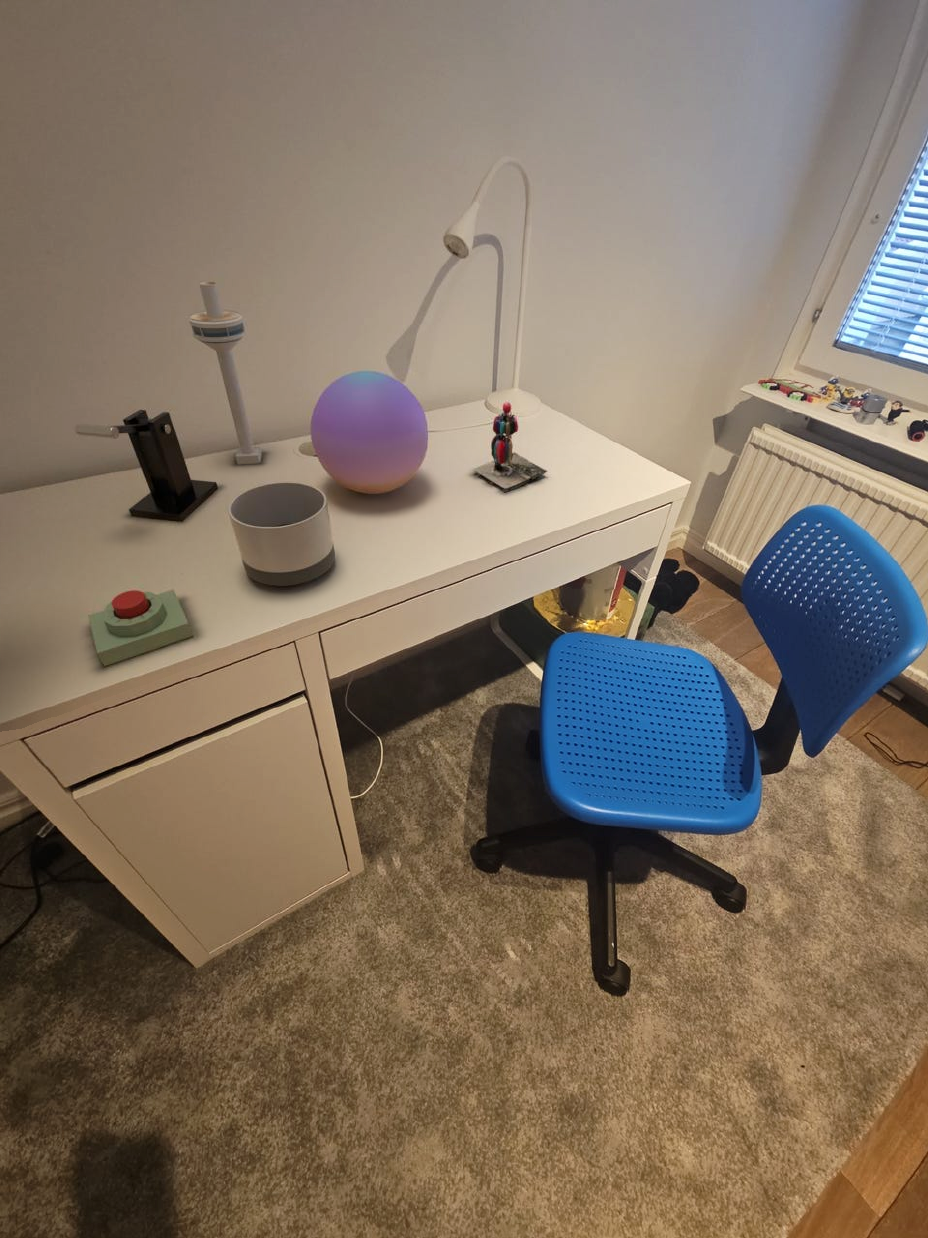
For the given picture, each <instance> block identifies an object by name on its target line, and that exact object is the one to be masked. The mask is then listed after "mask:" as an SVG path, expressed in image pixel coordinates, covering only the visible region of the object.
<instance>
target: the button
mask: <svg viewBox="0 0 928 1238" xmlns="http://www.w3.org/2000/svg"><path fill="white" fill-rule="evenodd" d="M143 592H144V591H142V590H136V589H135V590H133V589H132V590H127V591H124V592H123V591H122V592H121V593H118V595H116V596H115V597H114V598H113V599H112V600H111V602H112V606H113V608H114V610H115V612H116V614H117V616H118V617H119V618H121V619H132V618H135V617H138V616H141V615H143V614H144V613H146V612H147V611H148V610H149V608H150V605H149V603H148V601H147V598H146V596H145V594H144V593H143Z"/></svg>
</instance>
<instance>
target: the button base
mask: <svg viewBox="0 0 928 1238" xmlns="http://www.w3.org/2000/svg"><path fill="white" fill-rule="evenodd" d="M142 592H143V593H144V594H145V596H146V598H147V601H148V603H149V605H150V608H149V610H148V611H147V612H146V613H144V614H143V615H141V616H138V617H135V618H132V619H121V618H119V617H118V616H117V614H116V612H115V610H114V608H113V606H112V601H110V602H109V603H107V605H106V606H105V607H104V609H103V610H100V611H98V612H94V613H91V614H88V615H87V617H88V621H89V626H90V630H91V634H92V637H93V642H94V646H95V651H96V654H97V656H98V657H99V659H100V661H101V662H102V664H103V666H104V667H107V666H110V665H113V664H115V663H119V662H121V661H125V660H127V659H131V658H134V657H137V656H139V655H142V654H145V653H147V652H150V651H154V650H157V649H160V648H162V647H166V646H167V645H172V644H174V643H177V642H180V641H184V640H185V639H188V638H192V637H194V634H193V631H192V628H191V625H190V624H189V622H188V619H187V616H186V615H185V613H184V612H185V611H184V609H183V608H182V605H181V603H180V601H179V598H178V596H177V594H176V592H175V590H174V589H170V590H167V591H164V592H160V593H154V592H152V591H142Z"/></svg>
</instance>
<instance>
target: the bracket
mask: <svg viewBox="0 0 928 1238" xmlns="http://www.w3.org/2000/svg"><path fill="white" fill-rule="evenodd" d="M146 418H149V416H148V413H147V410H146V409H139V410H137V411H135V412H134V413H132V414H130V415H128V416H126V417H125V418H123V419H122V422H123V425H134V424H137V419H146ZM150 419H151V420H150V421H148V422H147V423H148V426H149V429H150V432H151V435H152V436H142V435H139V432H134V433H127V435H128V438H129V441H130V443H131V445H132V448H133V451H134V453H135V456H136V458H137V461H138V464H139V466H140V469H141V472H142V475H143V476H144V479H145V482H146V484H147V487H148V490H149V493H148V494H147V495H145V496H144V497H143V498H142V499H140V500H139V501H138V502H137V503H135V504H133V505H132V506H131V507H130V508H128V512H129V514H130V516H131V517H139V518H147V519H157V520H164V521H165V520H166V521H172V522H173V521H174V522H183V521H184V520H186V518H187V517H189V515H191V514H192V513H193V512H194V511H195V510H196V509H198V507H199V506H200V505H201V504H202V503H204V502H205V501H206V500H207V499H208V498H209V497H210V496H211V495H212V494H213V493H214V492H216V491H217V490H218V489H219V487H218V483H217V482H216V481H208V480H200V479H199V480H198V479H191V476H190V472H189V469H188V467H187V464H186V461H185V457H184V453H183V451H182V448H181V445H180V441H179V439H178V436H177V432H176V429H175V426H174V424H173V420H172V418H171V414H170V412H169V411H163V412H161V413H159V414H158V415H156V416H155V417H153V418H150Z"/></svg>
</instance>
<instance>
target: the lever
mask: <svg viewBox="0 0 928 1238" xmlns="http://www.w3.org/2000/svg"><path fill="white" fill-rule="evenodd" d="M151 419H152V418H150V417H148V418H146V419H137V424H134V425H124V424H119V425H100V424H88V423H78V422H77V423H76V424H74V432H75V433H76V435H78V436H83V437H95V438H104V439H118V438H119V436H120V435H121V434H128V433H134V432H139V435H142V436H152V435H151V432H150V429H149V426H148V423H147V422H148V421H150V420H151Z"/></svg>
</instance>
